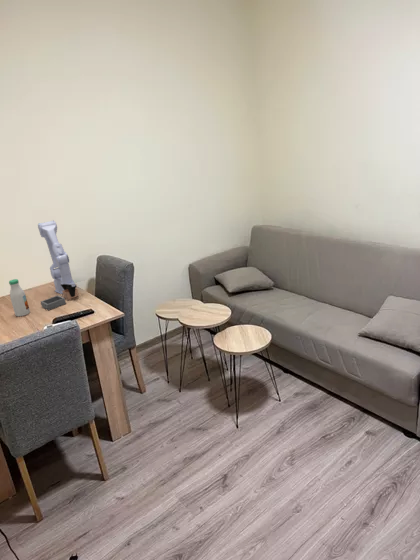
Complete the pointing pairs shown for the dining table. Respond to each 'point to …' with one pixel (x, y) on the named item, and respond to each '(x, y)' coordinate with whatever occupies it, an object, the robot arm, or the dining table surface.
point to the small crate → (67, 294)
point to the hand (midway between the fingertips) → (70, 295)
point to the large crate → (53, 302)
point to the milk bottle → (18, 299)
